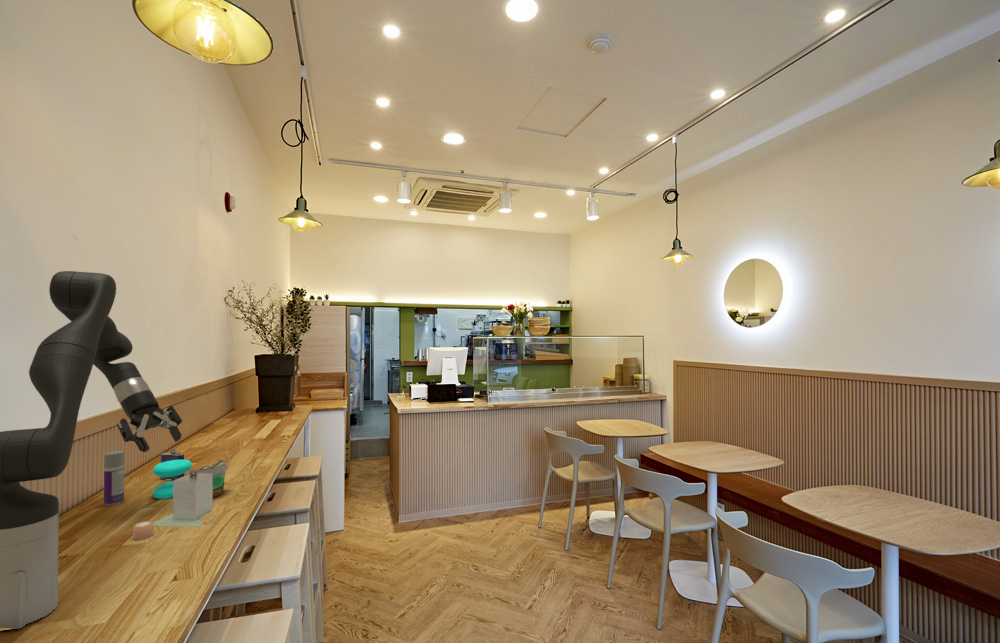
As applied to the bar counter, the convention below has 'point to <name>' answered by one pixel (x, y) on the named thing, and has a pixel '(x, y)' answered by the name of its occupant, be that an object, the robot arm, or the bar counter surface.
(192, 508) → the steel cover
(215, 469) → the food container
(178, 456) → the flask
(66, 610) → the bar counter surface
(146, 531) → the terracotta ramekin
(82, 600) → the bar counter surface
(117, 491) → the container
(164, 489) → the donuts
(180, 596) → the bar counter surface
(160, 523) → the rubber mat
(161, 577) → the bar counter surface
